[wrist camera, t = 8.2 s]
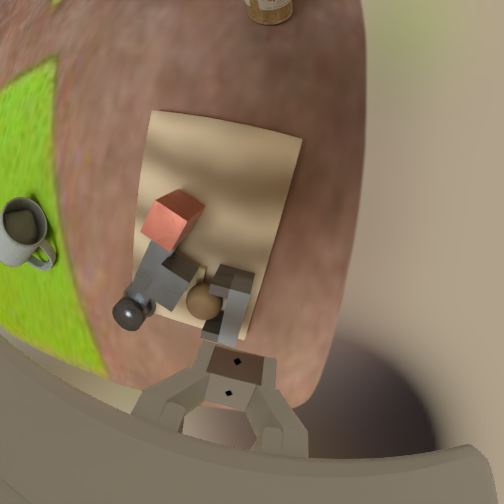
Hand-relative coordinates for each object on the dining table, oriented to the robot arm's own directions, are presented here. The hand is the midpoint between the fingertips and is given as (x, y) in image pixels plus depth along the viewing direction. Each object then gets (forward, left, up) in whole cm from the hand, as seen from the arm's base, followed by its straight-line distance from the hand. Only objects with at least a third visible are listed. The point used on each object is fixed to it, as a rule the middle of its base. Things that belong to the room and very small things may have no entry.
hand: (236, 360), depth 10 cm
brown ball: (+7, -4, -15) cm, 17 cm away
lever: (+6, -9, -15) cm, 19 cm away
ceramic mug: (+8, -31, -18) cm, 37 cm away
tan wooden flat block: (+2, -6, -17) cm, 18 cm away
